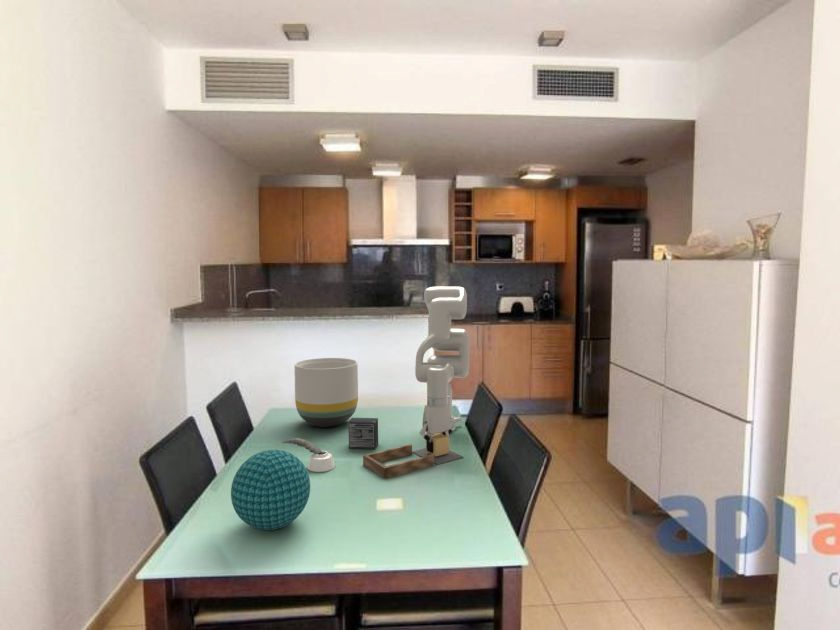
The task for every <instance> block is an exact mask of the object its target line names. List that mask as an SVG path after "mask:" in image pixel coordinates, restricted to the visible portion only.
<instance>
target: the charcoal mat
mask: <svg viewBox="0 0 840 630" xmlns="http://www.w3.org/2000/svg"><path fill="white" fill-rule="evenodd" d="M412 454H414V455H416V456H418V457H419V458H420V457H424V456H428V455H432V454H430V453H428V452H426V447H425V448H420V449H417V450H412ZM459 458H460V459H464V456H463V455H460V454H459V453H456V452H454V451H452V450H450V449H449V453H447V454H444V455H440V456H434V465H436V466H437V465H438V464H439V465H441V463H442V464H445V462H446V463H449V462H452V460H453V461H456V459H457V460H460V459H459ZM448 461H449V462H448Z"/></svg>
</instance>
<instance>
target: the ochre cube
mask: <svg viewBox="0 0 840 630" xmlns="http://www.w3.org/2000/svg"><path fill="white" fill-rule="evenodd" d="M429 437H430V436H429ZM432 442H433V453H431V452H429V451H427V441H426V440H425V448H426V452H428V453H430V454H432V455H434V456H440V455H444V454H447V453H449V450H450V437H448V436H446V435H443V434H442V433H436V434H434V436H433V440H432Z"/></svg>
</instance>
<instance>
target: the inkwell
mask: <svg viewBox="0 0 840 630" xmlns="http://www.w3.org/2000/svg"><path fill="white" fill-rule="evenodd" d="M282 444H292V445H296V446H298V447H301V448H305V449H306V450H308V451H309V453H313V454H311V455H310V456H309V457H310V458H309V462H308V465H307V469H308V470H309V471H310V472H314V473H325V472H330V471H331V470H332V471H333V469H335V467H336V464H335V461H334V458H333V457H334V456H333V454H332V453H330V452H328V451H327V450H321V449H320V447H318V446H317V445H315V444H314V443H312V442H310V441H308V440H306V439H304V438H303V439H302V438H297V437H296V438H289V439H286V440H284V441H283V442H282Z"/></svg>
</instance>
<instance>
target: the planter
mask: <svg viewBox="0 0 840 630" xmlns="http://www.w3.org/2000/svg"><path fill="white" fill-rule="evenodd" d="M358 367H359V366H358V361H356V359H355V360H354V359H350V358H343V357H320V358H319V357H318V358H310V359H304V360H300V361H297V362H295V364H294V399H295V400H294V401H295V403H294V404H295V407H296V411H297V413H298V415H299V416H300V418H301V419H302V420H303V421H305V422H306V423H308V424H309V425H312V426H315V427H320V428H329V427H330V428H331V427H336V426H340V425H341V424H345V422H347V421H349V420H350V419H351V418H352V416H353V415H354V414H355V412H356V410H357V408H358V407H357V406H358V404H359V403H358V401H359V381H358V380H359V379H358V377H359V373H358V372H359V371H358Z"/></svg>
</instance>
